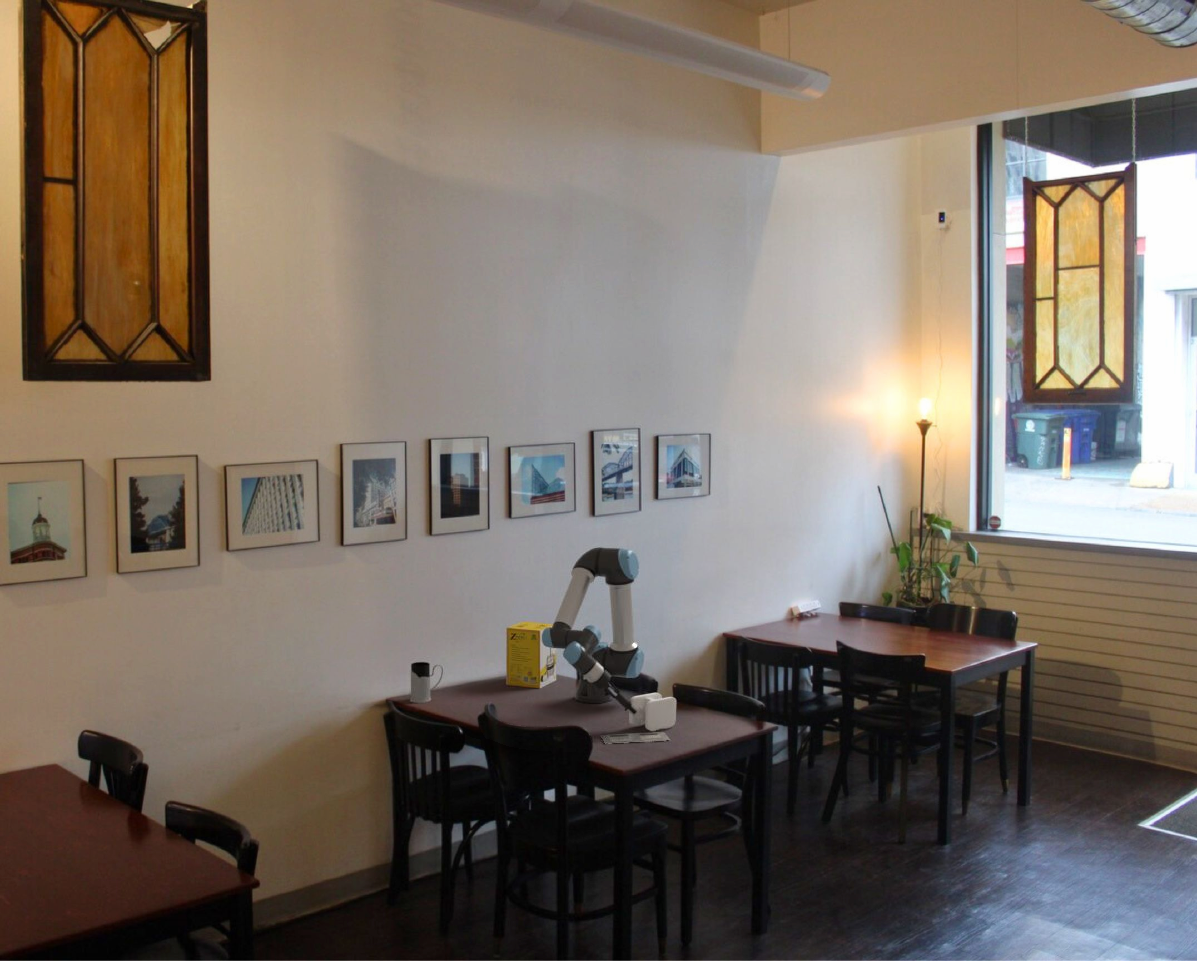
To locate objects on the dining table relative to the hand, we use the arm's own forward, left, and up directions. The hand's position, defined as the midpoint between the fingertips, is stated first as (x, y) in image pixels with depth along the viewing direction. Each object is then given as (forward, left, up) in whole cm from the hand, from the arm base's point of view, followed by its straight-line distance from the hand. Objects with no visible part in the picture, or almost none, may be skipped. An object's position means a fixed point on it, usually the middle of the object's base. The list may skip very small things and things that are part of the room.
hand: (640, 718), depth 427 cm
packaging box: (-78, -32, -4) cm, 84 cm away
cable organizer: (-1, +4, -4) cm, 6 cm away
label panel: (+12, -5, -4) cm, 14 cm away
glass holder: (-57, -78, -4) cm, 96 cm away
